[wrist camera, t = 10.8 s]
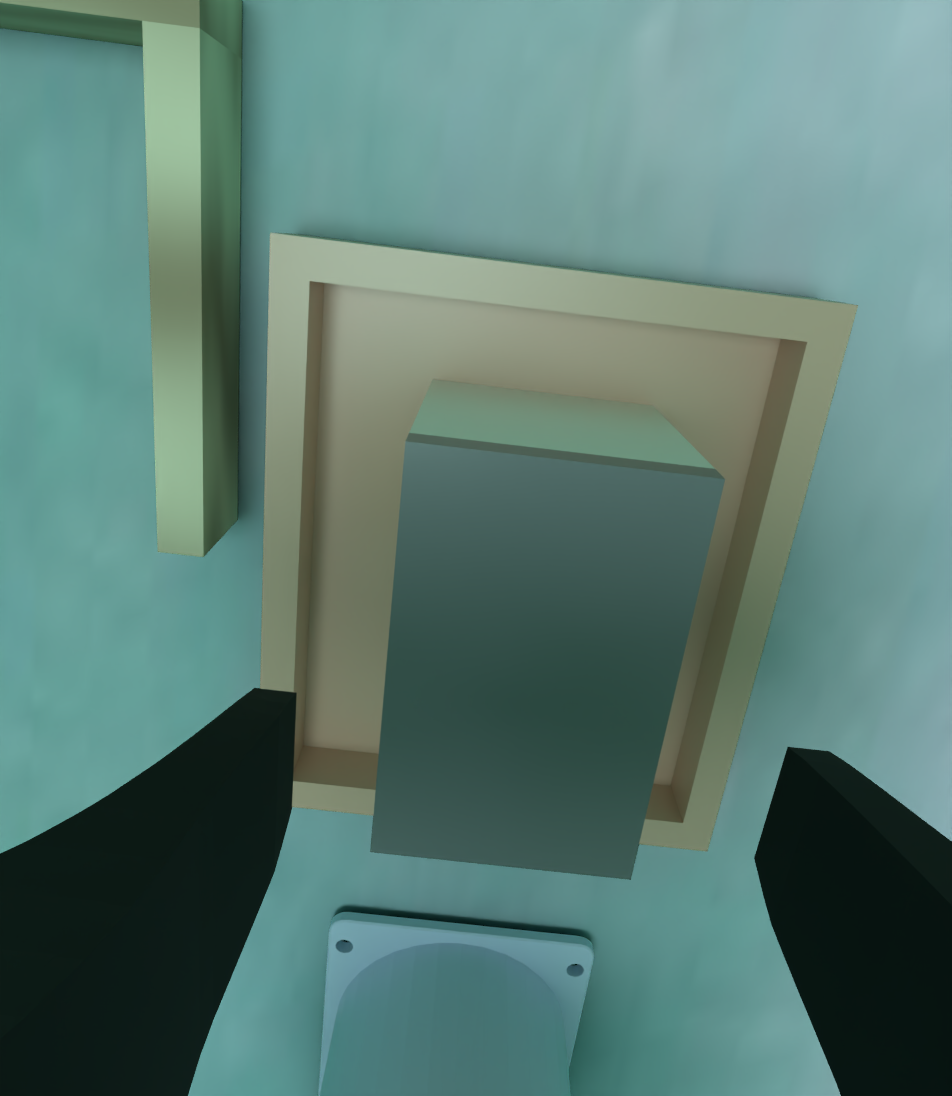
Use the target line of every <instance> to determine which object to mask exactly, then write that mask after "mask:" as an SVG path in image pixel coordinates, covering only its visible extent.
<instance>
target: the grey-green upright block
mask: <svg viewBox="0 0 952 1096" xmlns="http://www.w3.org/2000/svg"><path fill="white" fill-rule="evenodd" d="M724 482H725V478H724V477H723V476H722V475H721V474H720V473H719V472H718V471H717V470H716V469H715V468H714V467H713V466H712V465H711V464H710V463H709V462H708V461H707V460H706V459H705V458H704V457H703V456H702V455H701V454H700V453H699V452H698V451H697V450H696V449H695V448H694V447H693V446H692V445H691V444H690V443H689V442H688V441H687V440H686V439H685V438H684V437H683V436H682V435H681V433H680V432H679V431H678V430H677V429H676V428H675V427H674V426H673V425H672V424H671V423H670V422H669V421H668V420H667V419H666V418H665V417H664V416H663V415H662V414H661V413H660V412H659V411H658V410H657V409H656V408H655V407H654V406H653V405H645V404H636V403H628V402H620V401H611V400H603V399H594V398H586V397H578V396H569V395H561V394H553V393H544V392H536V391H528V390H519V389H511V388H503V387H494V386H486V385H478V384H469V383H461V382H453V381H444V380H436V379H433V380H432V382H431V384H430V386H429V389H428V391H427V393H426V396H425V398H424V400H423V402H422V405H421V407H420V409H419V411H418V414H417V416H416V418H415V421H414V423H413V425H412V427H411V430H410V432H409V434H408V437H407V439H406V441H405V452H404V463H403V475H402V487H401V498H400V510H399V522H398V533H397V545H396V557H395V569H394V580H393V592H392V604H391V615H390V627H389V639H388V650H387V662H386V674H385V686H384V697H383V709H382V721H381V732H380V744H379V756H378V767H377V779H376V791H375V803H374V814H373V826H372V838H371V849H370V852H375V853H384V854H394V855H403V856H412V857H422V858H431V859H441V860H450V861H460V862H469V863H478V864H488V865H497V866H507V867H516V868H526V869H535V870H544V871H554V872H563V873H573V874H582V875H592V876H601V877H610V878H620V879H629V880H631V876H632V872H633V868H634V863H635V859H636V855H637V851H638V846H639V842H640V838H641V834H642V829H643V825H644V821H645V817H646V813H647V808H648V804H649V800H650V796H651V791H652V787H653V783H654V779H655V774H656V770H657V766H658V762H659V757H660V753H661V749H662V745H663V741H664V736H665V732H666V728H667V724H668V719H669V715H670V711H671V707H672V702H673V698H674V694H675V690H676V685H677V681H678V677H679V673H680V669H681V664H682V660H683V656H684V652H685V647H686V643H687V639H688V635H689V630H690V626H691V622H692V618H693V613H694V609H695V605H696V601H697V597H698V592H699V588H700V584H701V580H702V575H703V571H704V567H705V563H706V558H707V554H708V550H709V546H710V541H711V537H712V533H713V529H714V525H715V520H716V516H717V512H718V508H719V503H720V499H721V495H722V491H723V486H724Z"/></svg>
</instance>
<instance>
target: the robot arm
mask: <svg viewBox="0 0 952 1096" xmlns="http://www.w3.org/2000/svg"><path fill="white" fill-rule="evenodd" d="M296 698H297V693H296V692H287V691H278V690H269V689H260V688H254V689H253V690H251V691H250V692H249V693H247V694H246V695H245V696H243V697H242V698H241V699H239V700H238V701H237V702H235V703H234V704H233V705H232V706H230V707H229V708H228V709H226V710H225V711H224V712H223V713H221V714H220V715H219V716H218V717H216V718H215V719H214V720H213V721H211V722H210V723H209V724H207V725H206V726H205V727H204V728H202V729H201V730H200V731H198V732H197V733H196V734H195V735H193V736H192V737H191V738H189V739H188V740H187V741H185V742H184V743H183V744H181V745H180V746H179V747H177V748H176V749H175V750H173V751H172V752H171V753H169V754H168V755H166V756H165V757H164V758H162V759H161V760H160V761H158V762H157V763H156V764H154V765H153V766H151V767H150V768H148V769H147V770H145V771H144V772H142V773H141V774H139V775H138V776H136V777H135V778H133V779H132V780H130V781H129V782H127V783H126V784H124V785H123V786H121V787H120V788H118V789H117V790H115V791H114V792H112V793H111V794H109V795H108V796H106V797H105V798H103V799H101V800H100V801H98V802H96V803H95V804H93V805H91V806H90V807H88V808H86V809H85V810H83V811H81V812H79V813H78V814H76V815H74V816H73V817H71V818H69V819H67V820H65V821H63V822H62V823H60V824H58V825H56V826H54V827H52V828H51V829H49V830H47V831H45V832H43V833H41V834H40V835H38V836H36V837H34V838H32V839H30V840H28V841H26V842H24V843H22V844H20V845H18V846H16V847H14V848H11V849H9V850H7V851H5V852H3V853H1V854H0V1096H188V1093H189V1090H190V1087H191V1083H192V1080H193V1077H194V1074H195V1071H196V1067H197V1064H198V1061H199V1058H200V1055H201V1052H202V1049H203V1047H204V1044H205V1041H206V1038H207V1036H208V1033H209V1030H210V1028H211V1025H212V1022H213V1019H214V1017H215V1015H216V1012H217V1010H218V1007H219V1005H220V1003H221V1000H222V998H223V995H224V993H225V991H226V988H227V986H228V983H229V981H230V979H231V976H232V974H233V971H234V969H235V966H236V964H237V962H238V959H239V957H240V954H241V952H242V950H243V947H244V945H245V942H246V940H247V938H248V935H249V933H250V930H251V928H252V926H253V923H254V921H255V918H256V916H257V913H258V911H259V909H260V906H261V904H262V901H263V899H264V896H265V894H266V891H267V889H268V887H269V884H270V882H271V879H272V877H273V874H274V871H275V868H276V864H277V861H278V857H279V854H280V850H281V847H282V843H283V840H284V836H285V832H286V829H287V825H288V821H289V817H290V814H291V810H292V795H293V770H294V746H295V722H296ZM754 859H755V863H756V867H757V871H758V875H759V879H760V883H761V887H762V892H763V896H764V899H765V903H766V906H767V910H768V913H769V917H770V921H771V924H772V927H773V929H774V932H775V935H776V937H777V940H778V942H779V945H780V947H781V950H782V952H783V955H784V957H785V960H786V962H787V965H788V967H789V970H790V972H791V974H792V977H793V979H794V982H795V984H796V987H797V989H798V991H799V994H800V996H801V999H802V1001H803V1004H804V1006H805V1008H806V1011H807V1013H808V1016H809V1018H810V1020H811V1023H812V1025H813V1028H814V1030H815V1032H816V1035H817V1037H818V1040H819V1042H820V1045H821V1047H822V1049H823V1052H824V1054H825V1057H826V1059H827V1061H828V1064H829V1066H830V1069H831V1071H832V1074H833V1076H834V1078H835V1081H836V1083H837V1086H838V1089H839V1091H840V1094H841V1096H952V841H950V840H949V839H947V838H946V837H945V836H943V835H942V834H941V833H939V832H938V831H937V830H936V829H934V828H933V827H932V826H930V825H929V824H928V823H926V822H925V821H924V820H922V819H921V818H920V817H918V816H917V815H916V814H914V813H913V812H912V811H910V810H909V809H908V808H907V807H905V806H904V805H903V804H901V803H900V802H899V801H897V800H896V799H895V798H893V797H892V796H891V795H890V794H888V793H887V792H886V791H884V790H883V789H882V788H880V787H879V786H878V785H876V784H875V783H874V782H872V781H871V780H870V779H868V778H867V777H866V776H864V775H863V774H862V773H860V772H859V771H858V770H856V769H855V768H853V767H852V766H851V765H849V764H848V763H846V762H845V761H843V760H842V759H840V758H839V757H837V756H836V755H834V754H832V753H831V752H829V751H821V750H812V749H803V748H794V747H788V748H787V751H786V755H785V758H784V761H783V765H782V768H781V771H780V775H779V778H778V781H777V785H776V788H775V791H774V795H773V798H772V801H771V804H770V808H769V811H768V814H767V818H766V821H765V824H764V828H763V831H762V834H761V838H760V841H759V844H758V848H757V851H756V854H755V858H754ZM341 940H347V941H350V942H343V941H341ZM593 961H594V951H593V945H592V943H591V942H590V941H589V940H588V939H587V938H585V937H581V936H574V935H565V934H555V933H545V932H536V931H526V930H517V929H507V928H498V927H488V926H478V925H469V924H459V923H450V922H440V921H431V920H421V919H411V918H402V917H392V916H383V915H373V914H364V913H354V912H341V913H339V914H336V915H335V916H334V917H333V918H332V921H331V924H330V928H329V937H328V952H327V967H326V983H325V998H324V1013H323V1029H322V1044H321V1059H320V1075H319V1090H318V1096H571V1091H570V1080H569V1067H570V1063H571V1058H572V1054H573V1049H574V1045H575V1041H576V1036H577V1032H578V1027H579V1023H580V1018H581V1014H582V1010H583V1005H584V1001H585V996H586V992H587V987H588V983H589V979H590V974H591V970H592V965H593ZM571 964H579V965H576V966H571Z"/></svg>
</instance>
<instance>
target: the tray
mask: <svg viewBox="0 0 952 1096" xmlns="http://www.w3.org/2000/svg"><path fill="white" fill-rule="evenodd" d="M857 307H858V305H853V304H847V303H841V302H835V301H830V300H824V299H818V298H810V297H802V296H794V295H786V294H778V293H770V292H762V291H754V290H745V289H737V288H729V287H721V286H713V285H705V284H697V283H689V282H681V281H673V280H665V279H656V278H648V277H640V276H632V275H624V274H616V273H608V272H600V271H592V270H584V269H576V268H568V267H559V266H551V265H543V264H535V263H527V262H519V261H511V260H503V259H495V258H487V257H479V256H470V255H462V254H454V253H446V252H438V251H430V250H422V249H414V248H406V247H398V246H390V245H382V244H373V243H365V242H357V241H349V240H341V239H333V238H325V237H317V236H309V235H301V234H288V233H270V260H269V306H268V352H267V399H266V445H265V491H264V537H263V583H262V630H261V676H260V689H269V690H278V691H287V692H296V693H297V698H296V722H295V746H294V770H293V795H292V807H298V808H307V809H316V810H325V811H335V812H344V813H353V814H363V815H372V816H373V814H374V803H375V791H376V779H377V767H378V756H379V744H380V732H381V721H382V709H383V697H384V686H385V674H386V662H387V650H388V639H389V627H390V615H391V604H392V592H393V580H394V569H395V557H396V545H397V533H398V522H399V510H400V498H401V487H402V475H403V463H404V452H405V441H406V439H407V437H408V434H409V432H410V430H411V427H412V425H413V423H414V421H415V418H416V416H417V414H418V411H419V409H420V407H421V405H422V402H423V400H424V398H425V396H426V393H427V391H428V389H429V386H430V384H431V382H432V380H433V379H436V380H444V381H453V382H461V383H469V384H478V385H486V386H494V387H503V388H511V389H519V390H528V391H536V392H544V393H553V394H561V395H569V396H578V397H586V398H594V399H603V400H611V401H620V402H628V403H636V404H645V405H653V406H654V407H655V408H656V409H657V410H658V411H659V412H660V413H661V414H662V415H663V416H664V417H665V418H666V419H667V420H668V421H669V422H670V423H671V424H672V425H673V426H674V427H675V428H676V429H677V430H678V431H679V432H680V433H681V435H682V436H683V437H684V438H685V439H686V440H687V441H688V442H689V443H690V444H691V445H692V446H693V447H694V448H695V449H696V450H697V451H698V452H699V453H700V454H701V455H702V456H703V457H704V458H705V459H706V460H707V461H708V462H709V463H710V464H711V465H712V466H713V467H714V468H715V469H716V470H717V471H718V472H719V473H720V474H721V475H722V476H723V477H724V478H725V482H724V486H723V491H722V495H721V499H720V503H719V508H718V512H717V516H716V520H715V525H714V529H713V533H712V537H711V541H710V546H709V550H708V554H707V558H706V563H705V567H704V571H703V575H702V580H701V584H700V588H699V592H698V597H697V601H696V605H695V609H694V613H693V618H692V622H691V626H690V630H689V635H688V639H687V643H686V647H685V652H684V656H683V660H682V664H681V669H680V673H679V677H678V681H677V685H676V690H675V694H674V698H673V702H672V707H671V711H670V715H669V719H668V724H667V728H666V732H665V736H664V741H663V745H662V749H661V753H660V757H659V762H658V766H657V770H656V774H655V779H654V783H653V787H652V791H651V796H650V800H649V804H648V808H647V813H646V817H645V821H644V825H643V829H642V834H641V838H640V842H639V844H642V845H652V846H661V847H670V848H680V849H689V850H698V851H708V847H709V844H710V840H711V836H712V833H713V829H714V825H715V822H716V818H717V815H718V811H719V807H720V804H721V800H722V796H723V793H724V789H725V786H726V782H727V778H728V775H729V771H730V767H731V764H732V760H733V757H734V753H735V749H736V746H737V742H738V738H739V735H740V731H741V728H742V724H743V720H744V717H745V713H746V709H747V706H748V702H749V699H750V695H751V691H752V688H753V684H754V680H755V677H756V673H757V670H758V666H759V662H760V659H761V655H762V651H763V648H764V644H765V641H766V637H767V633H768V630H769V626H770V622H771V619H772V615H773V612H774V608H775V604H776V601H777V597H778V593H779V590H780V586H781V583H782V579H783V575H784V572H785V568H786V564H787V561H788V557H789V554H790V550H791V546H792V543H793V539H794V535H795V532H796V528H797V525H798V521H799V517H800V514H801V510H802V506H803V503H804V499H805V496H806V492H807V488H808V485H809V481H810V477H811V474H812V470H813V467H814V463H815V459H816V456H817V452H818V449H819V445H820V441H821V438H822V434H823V430H824V427H825V423H826V420H827V416H828V412H829V409H830V405H831V401H832V398H833V394H834V391H835V387H836V383H837V380H838V376H839V372H840V369H841V365H842V362H843V358H844V354H845V351H846V347H847V343H848V340H849V336H850V333H851V329H852V325H853V322H854V318H855V314H856V311H857Z"/></svg>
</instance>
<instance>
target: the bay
mask: <svg viewBox="0 0 952 1096" xmlns="http://www.w3.org/2000/svg"><path fill="white" fill-rule="evenodd" d="M0 28H5V29H13V30H21V31H28V32H36V33H44V34H52V35H60V36H67V37H75V38H83V39H91V40H99V41H106V42H114V43H122V44H130V45H137V46H143V65H144V99H145V133H146V168H147V202H148V236H149V270H150V304H151V338H152V373H153V407H154V441H155V475H156V509H157V544H158V552H163V553H172V554H181V555H190V556H198V557H204V556H205V555H206V554H207V553H208V552H209V551H210V549H211V548H212V547H213V546H214V545H215V544H216V543H217V542H218V541H219V540H220V539H221V537H222V536H223V535H224V534H225V533H226V532H227V531H228V530H229V529H230V528H231V527H232V525H233V524H234V523H235V522H236V521H237V520H238V410H239V300H240V191H241V81H242V1H241V0H0Z"/></svg>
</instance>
